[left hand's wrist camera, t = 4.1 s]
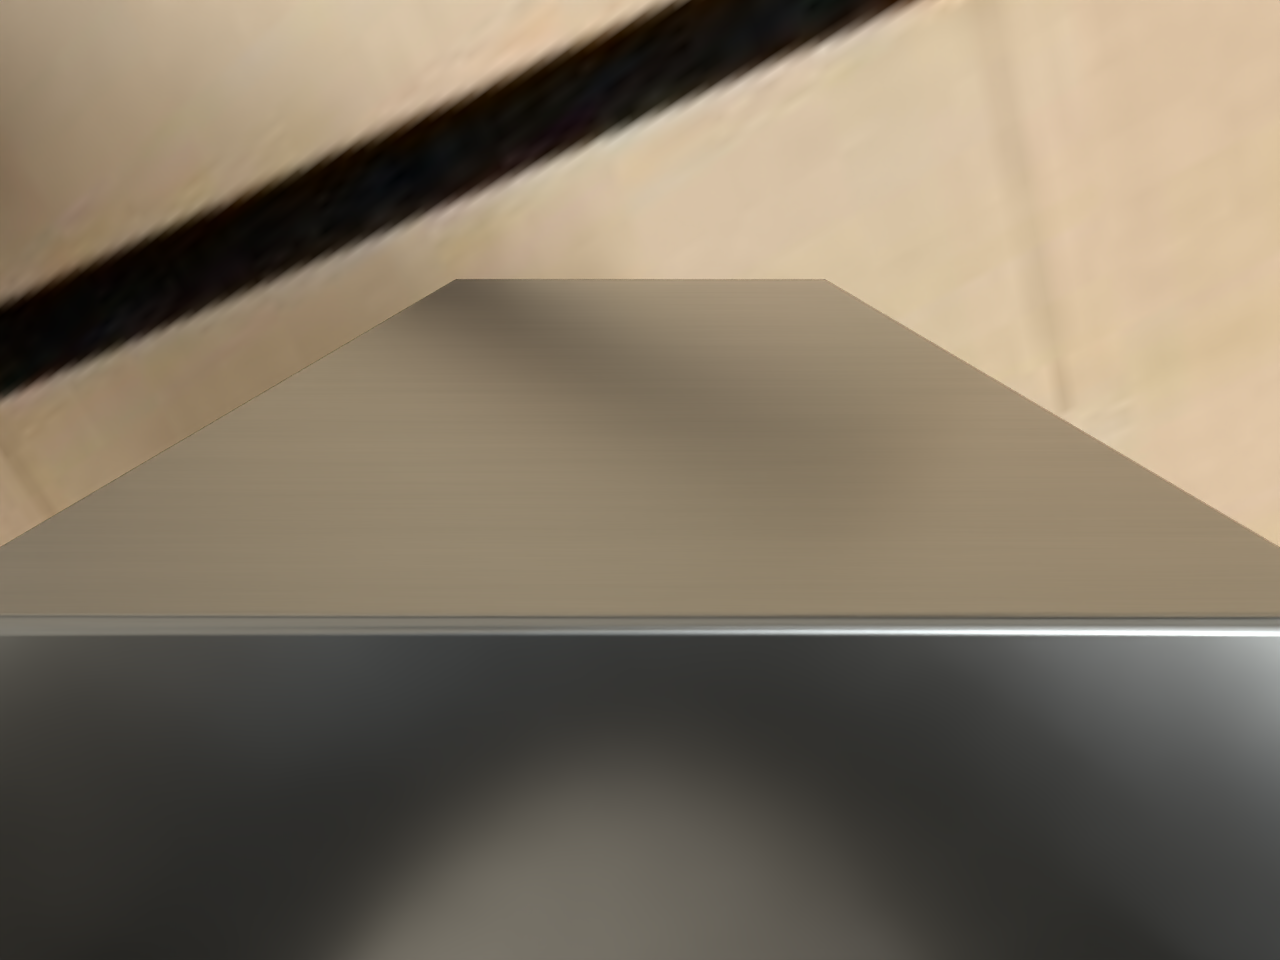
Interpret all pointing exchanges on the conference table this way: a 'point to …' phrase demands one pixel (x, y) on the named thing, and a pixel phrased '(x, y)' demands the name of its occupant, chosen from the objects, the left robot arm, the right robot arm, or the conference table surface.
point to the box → (640, 660)
